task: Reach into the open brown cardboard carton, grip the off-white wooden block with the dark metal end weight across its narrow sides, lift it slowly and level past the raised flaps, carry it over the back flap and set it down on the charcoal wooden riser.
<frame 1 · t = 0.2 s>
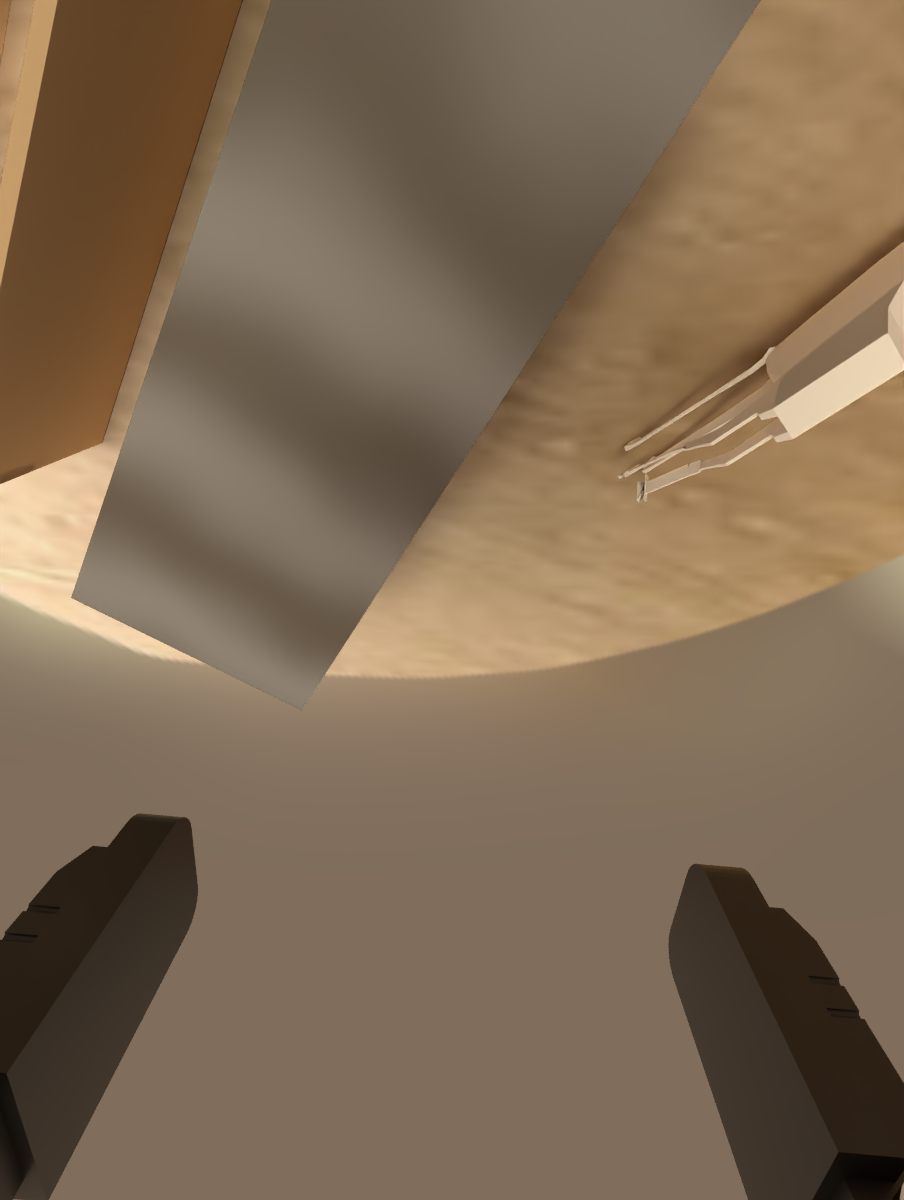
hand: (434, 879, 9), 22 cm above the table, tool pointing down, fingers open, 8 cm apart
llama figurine: (799, 322, 25), on the table
riser: (390, 334, 26), on the table
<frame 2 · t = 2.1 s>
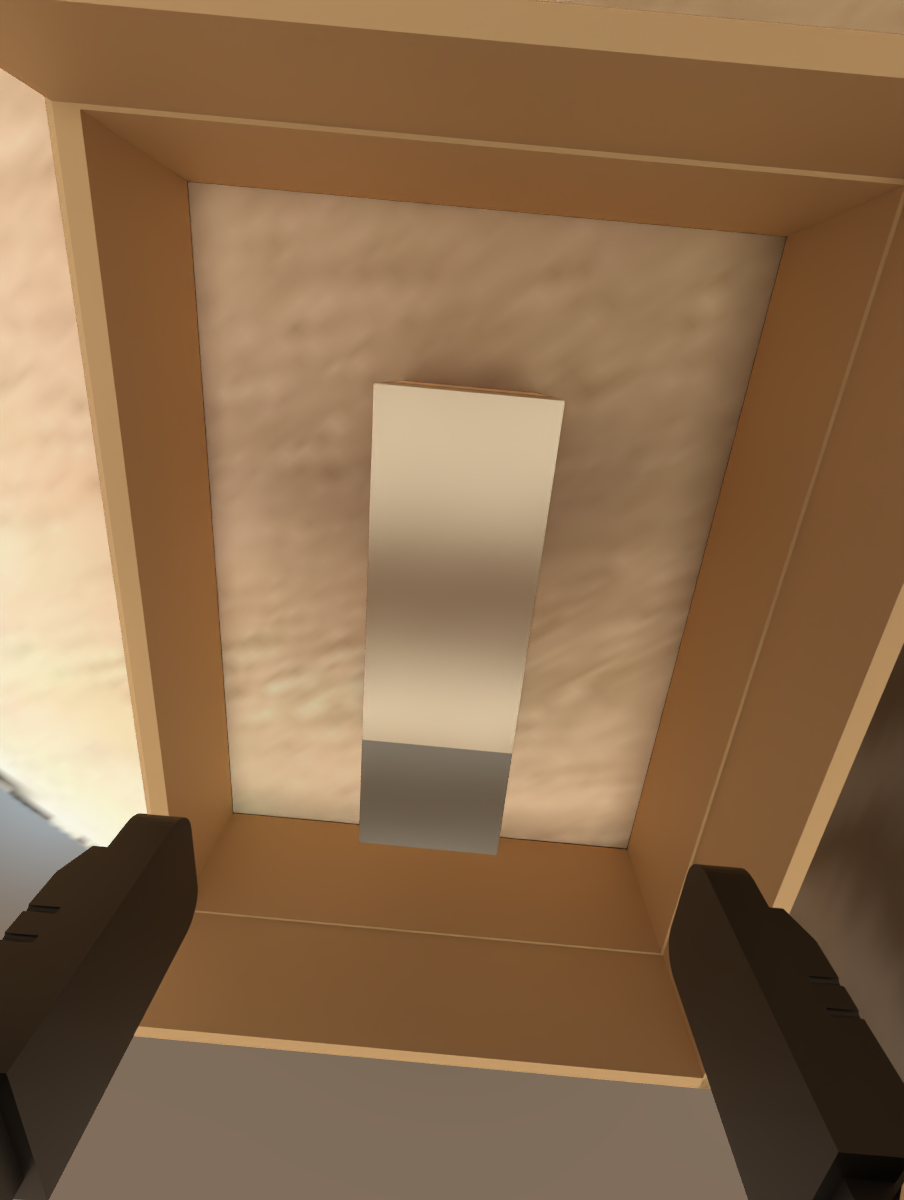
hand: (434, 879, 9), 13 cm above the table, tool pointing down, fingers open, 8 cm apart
carton: (452, 584, 21), on the table
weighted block: (452, 584, 22), resting in carton
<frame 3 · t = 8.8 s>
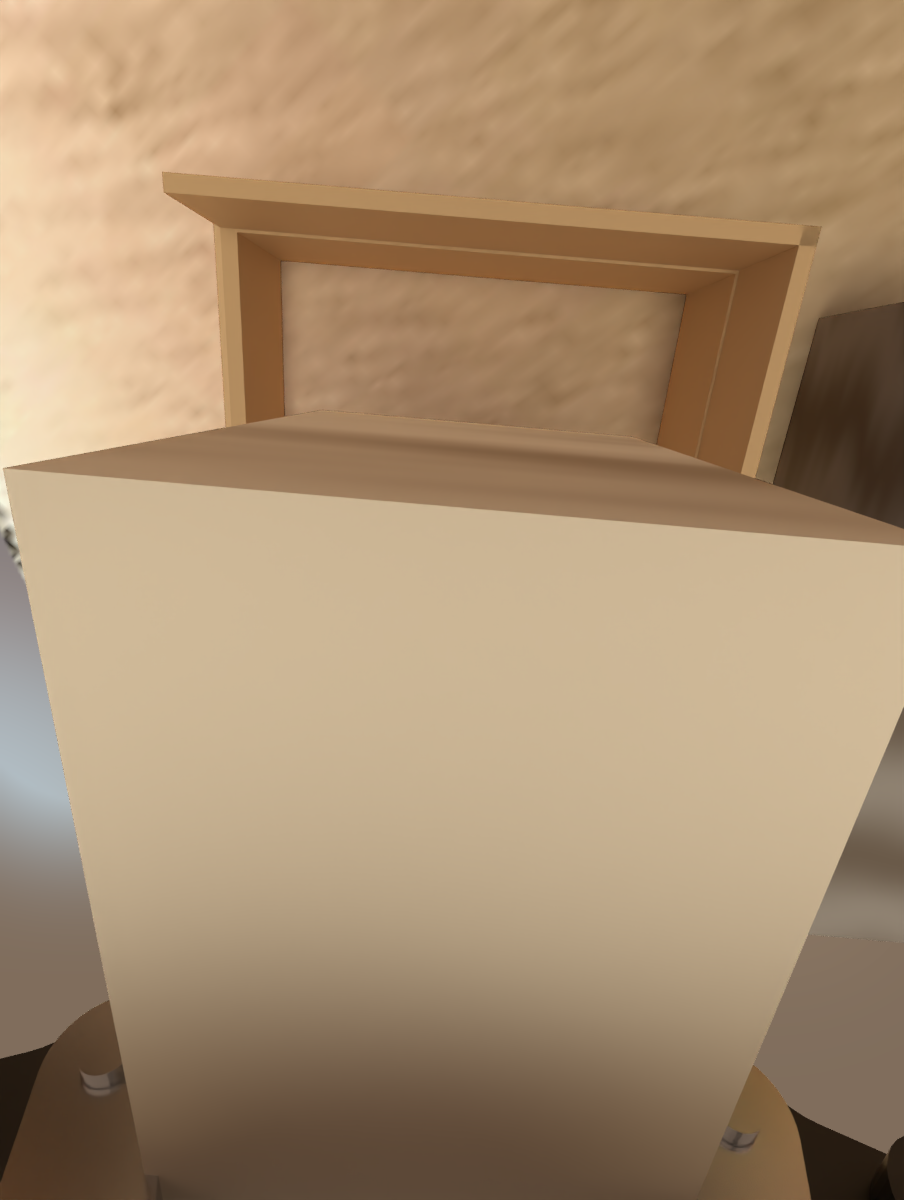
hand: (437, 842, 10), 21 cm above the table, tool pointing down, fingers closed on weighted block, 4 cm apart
carton: (460, 540, 29), on the table
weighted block: (441, 809, 11), point 20 cm above the table, touching gripper
riser: (834, 581, 30), on the table
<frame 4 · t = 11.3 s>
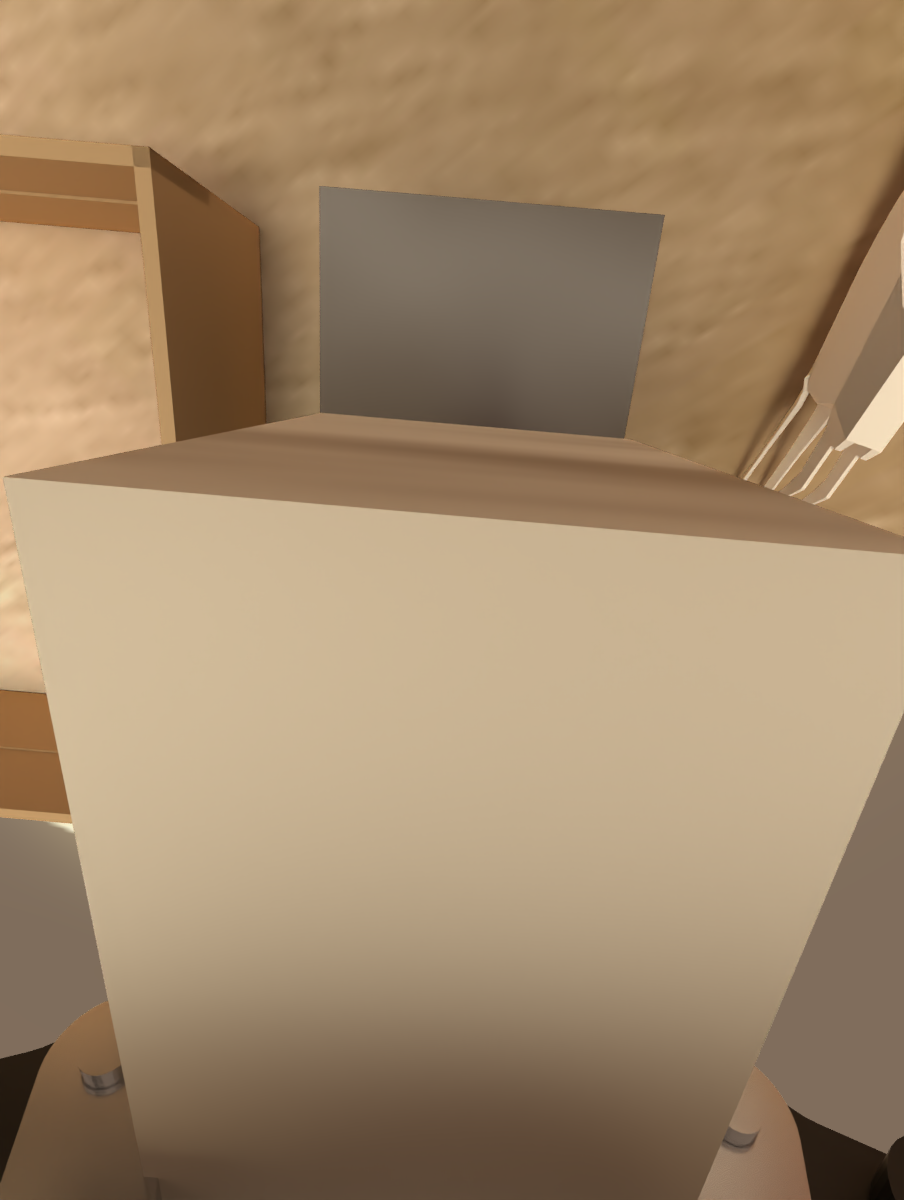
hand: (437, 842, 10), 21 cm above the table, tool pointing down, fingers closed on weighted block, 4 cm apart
carton: (83, 497, 29), on the table
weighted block: (441, 811, 11), point 20 cm above the table, touching gripper
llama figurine: (816, 337, 26), on the table
riser: (460, 539, 29), on the table
when the fingers open (13 cm above the table, at t = 13.7 s): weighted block drops 1 cm, resting on riser.
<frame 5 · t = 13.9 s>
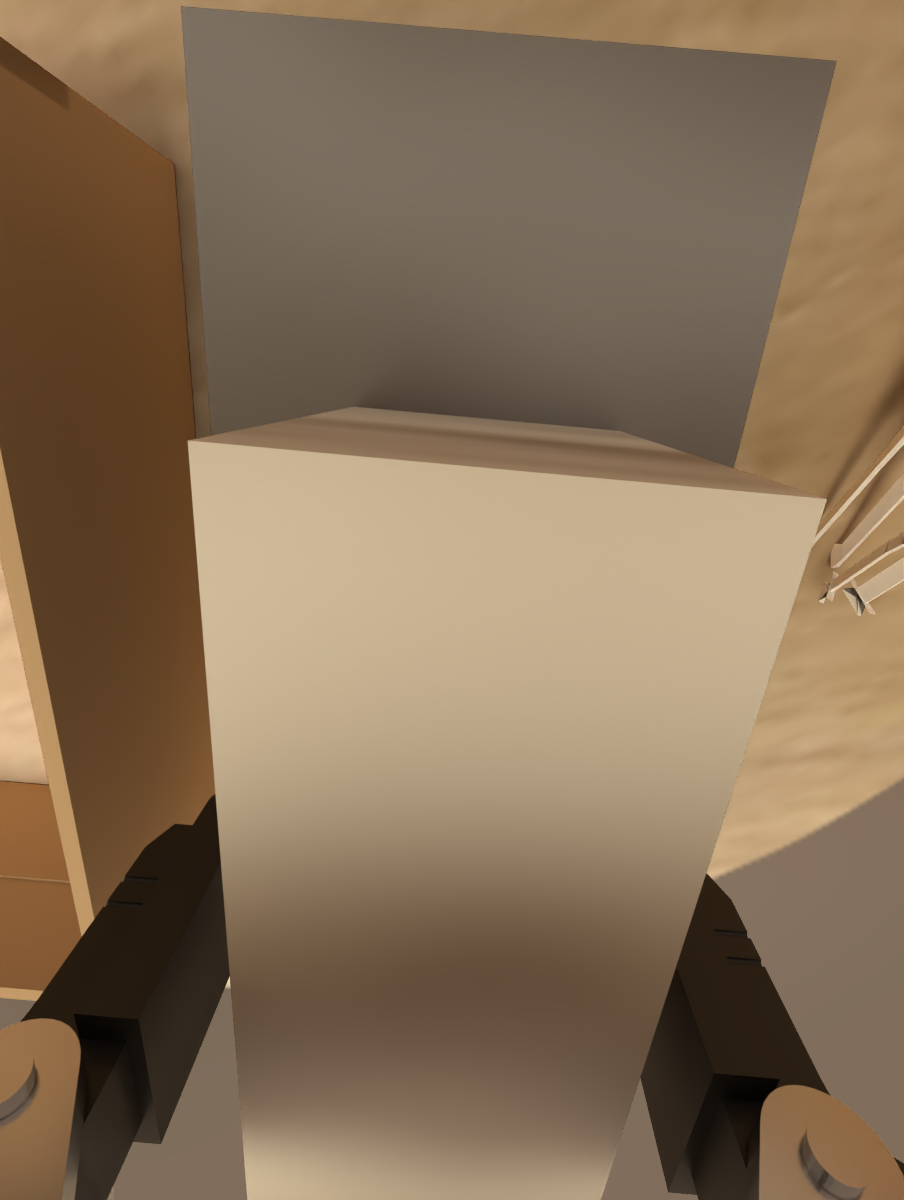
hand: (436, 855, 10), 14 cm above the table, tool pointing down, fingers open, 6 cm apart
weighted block: (451, 762, 12), point 11 cm above the table, touching riser
riser: (456, 587, 22), on the table
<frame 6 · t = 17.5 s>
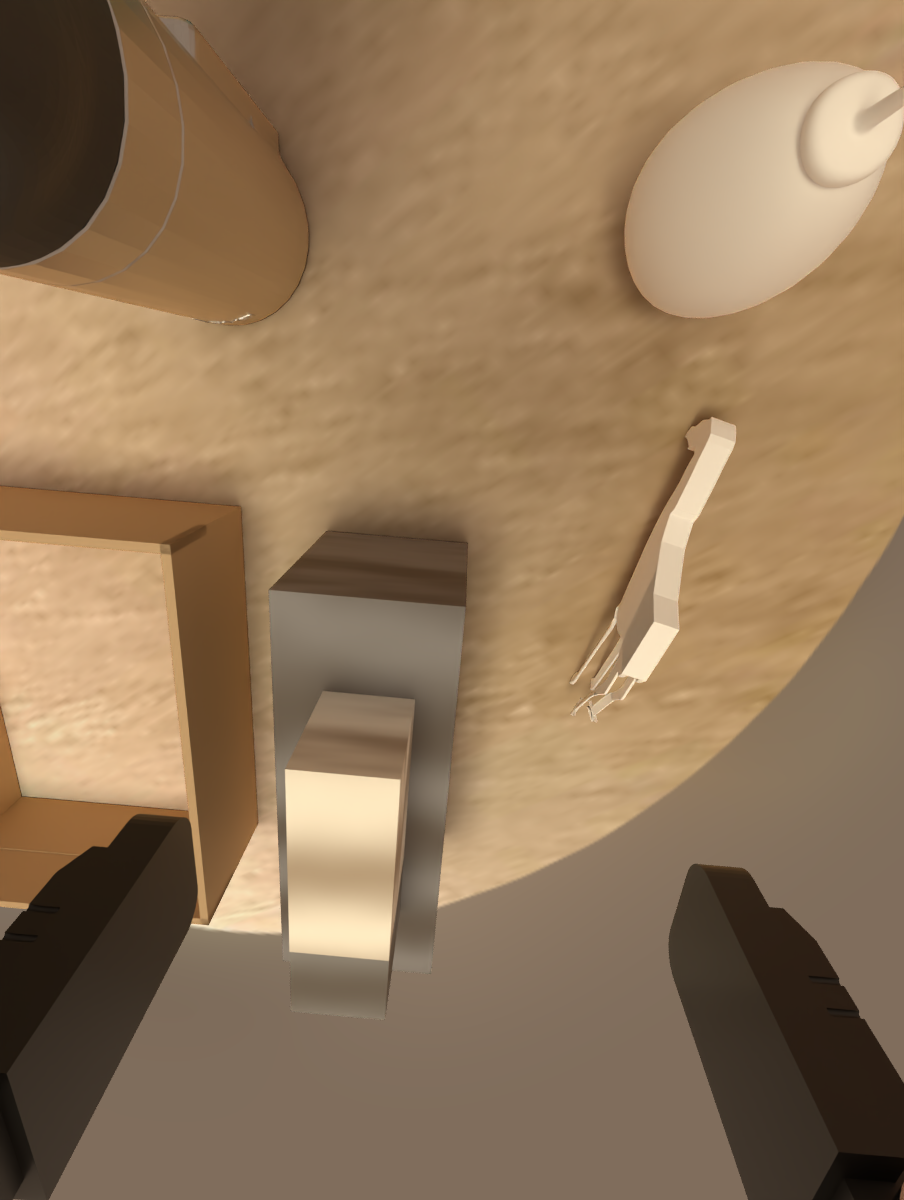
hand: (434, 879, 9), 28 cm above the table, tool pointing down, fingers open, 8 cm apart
carton: (115, 670, 40), on the table
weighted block: (364, 810, 30), point 11 cm above the table, touching riser
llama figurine: (633, 568, 37), on the table
riser: (389, 700, 40), on the table
sauce bottle: (674, 247, 30), on the table
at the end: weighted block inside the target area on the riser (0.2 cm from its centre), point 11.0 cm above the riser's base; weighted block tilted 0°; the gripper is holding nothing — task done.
